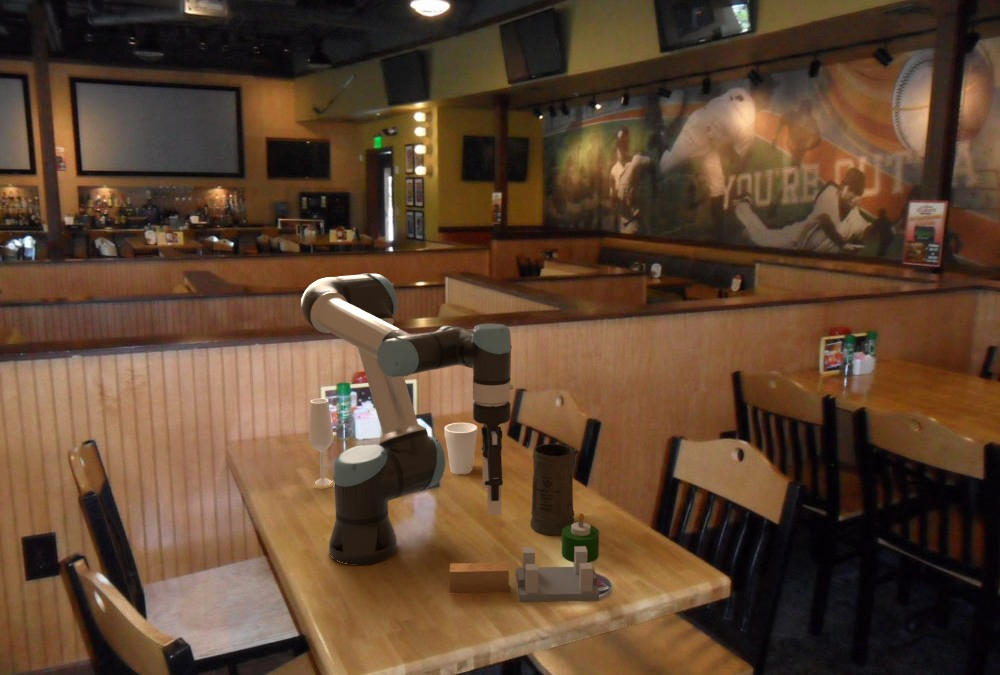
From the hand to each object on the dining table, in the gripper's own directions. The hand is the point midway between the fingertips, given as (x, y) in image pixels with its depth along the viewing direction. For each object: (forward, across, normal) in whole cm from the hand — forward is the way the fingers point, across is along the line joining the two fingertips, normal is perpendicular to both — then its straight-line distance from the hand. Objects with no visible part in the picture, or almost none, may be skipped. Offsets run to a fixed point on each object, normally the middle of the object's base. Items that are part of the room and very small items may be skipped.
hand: (491, 500), depth 159 cm
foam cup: (+18, +62, +4) cm, 65 cm away
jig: (+18, -4, -13) cm, 22 cm away
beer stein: (+18, +26, -18) cm, 36 cm away
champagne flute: (+18, +55, +42) cm, 72 cm away
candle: (+18, +9, -21) cm, 29 cm away
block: (+18, -4, +3) cm, 18 cm away
